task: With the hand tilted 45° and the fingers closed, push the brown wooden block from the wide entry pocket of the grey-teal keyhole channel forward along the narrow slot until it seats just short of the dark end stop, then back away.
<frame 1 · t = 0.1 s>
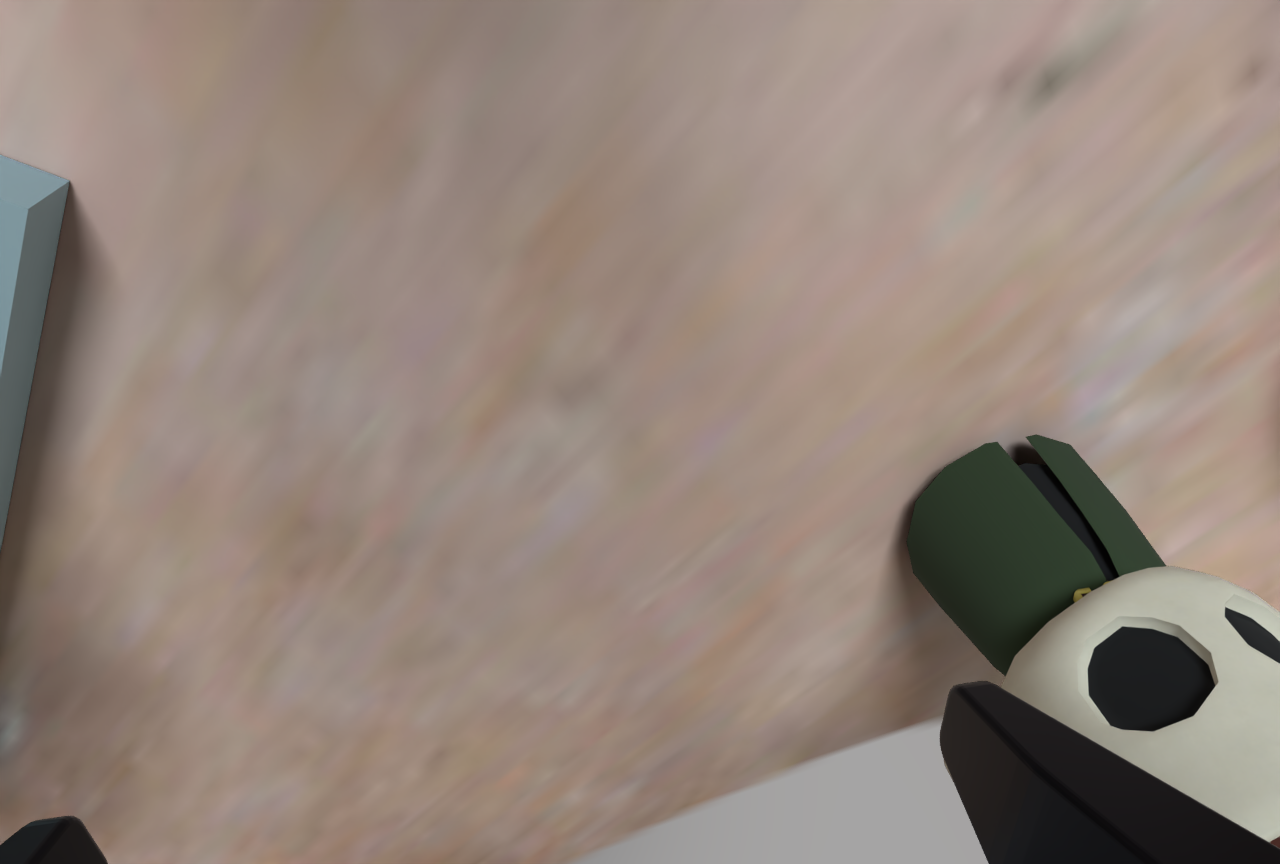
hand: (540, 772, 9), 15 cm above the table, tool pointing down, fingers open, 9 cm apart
character mug: (986, 504, 28), on the table
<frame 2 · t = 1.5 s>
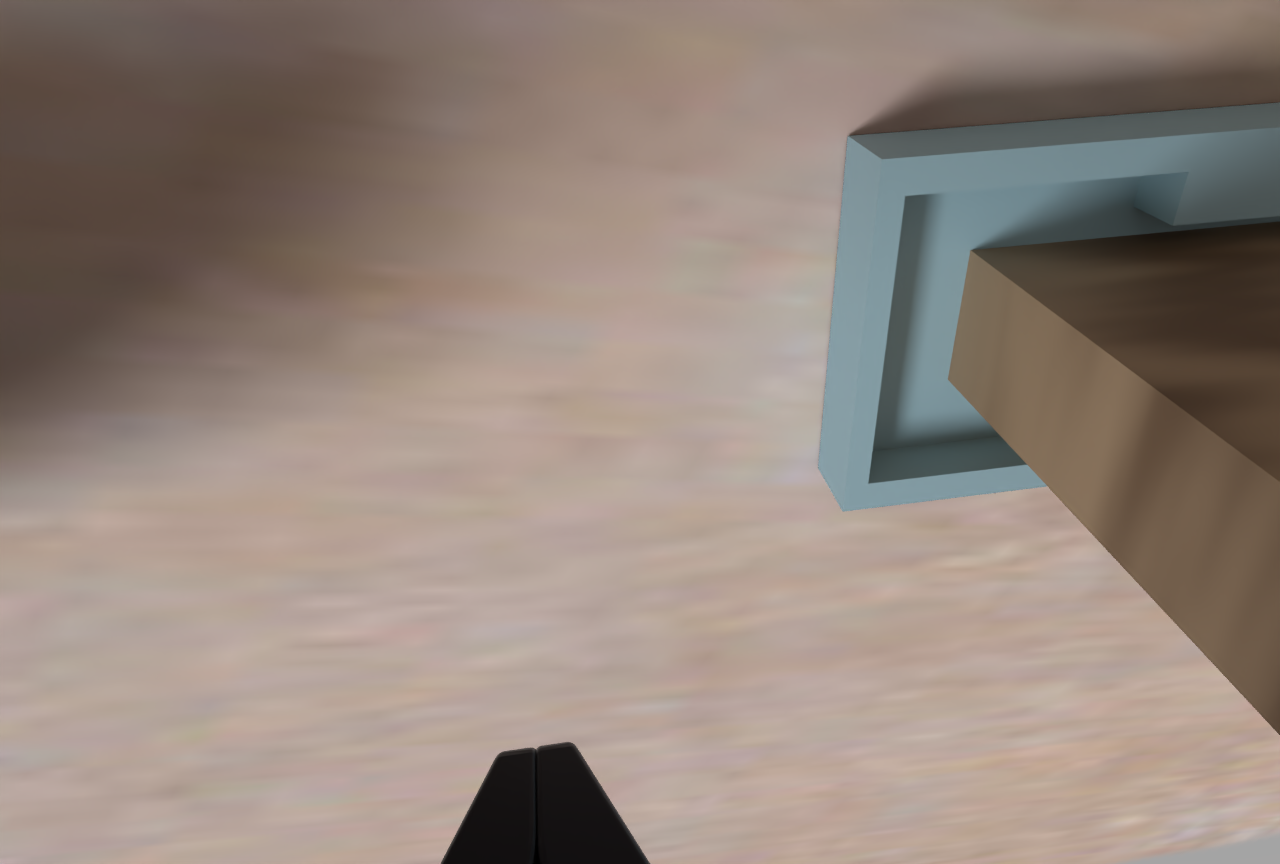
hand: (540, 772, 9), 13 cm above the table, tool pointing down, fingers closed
slot base: (1217, 282, 23), on the table
brown wooden block: (1145, 298, 22), point 1 cm above the table, touching slot base
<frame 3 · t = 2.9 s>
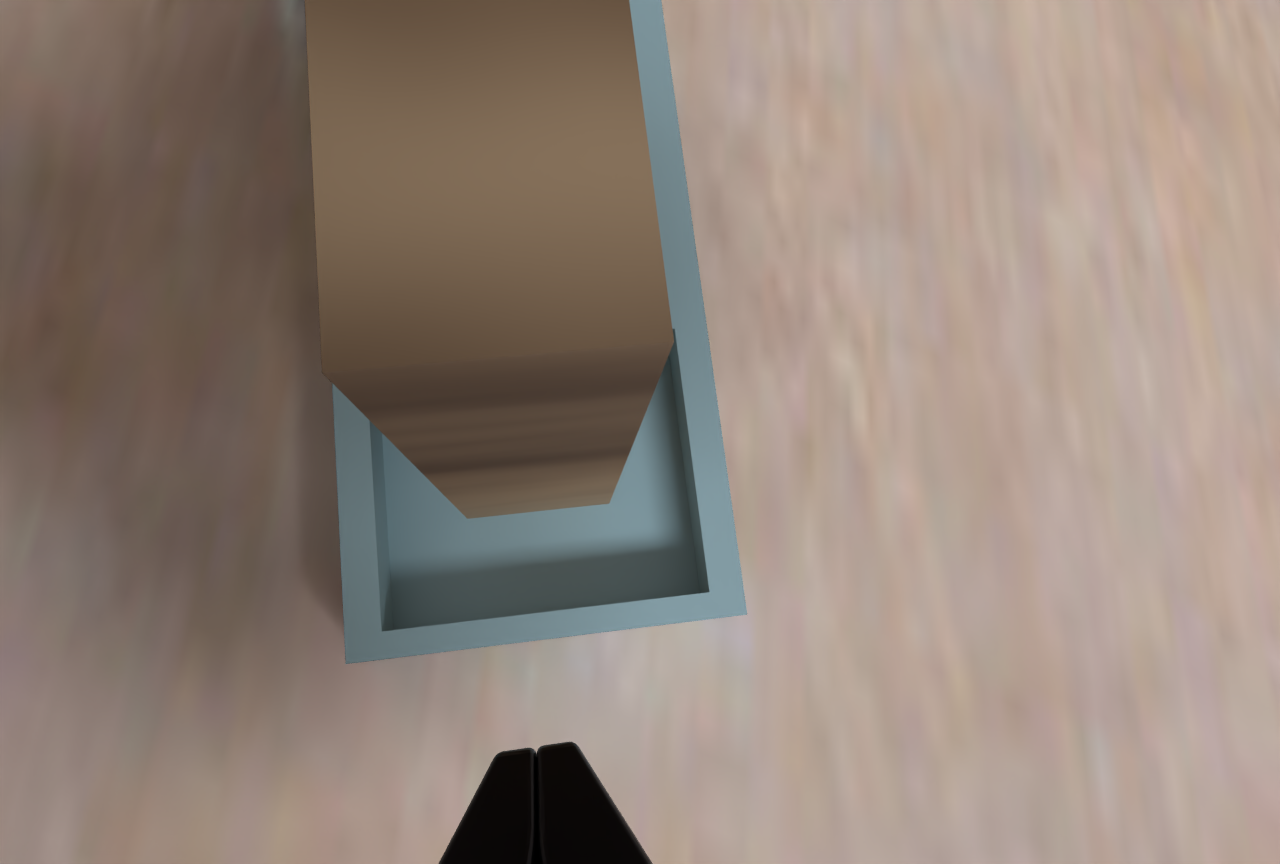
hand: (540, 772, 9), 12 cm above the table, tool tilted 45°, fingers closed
slot base: (514, 241, 23), on the table
brown wooden block: (520, 319, 22), point 1 cm above the table, touching slot base
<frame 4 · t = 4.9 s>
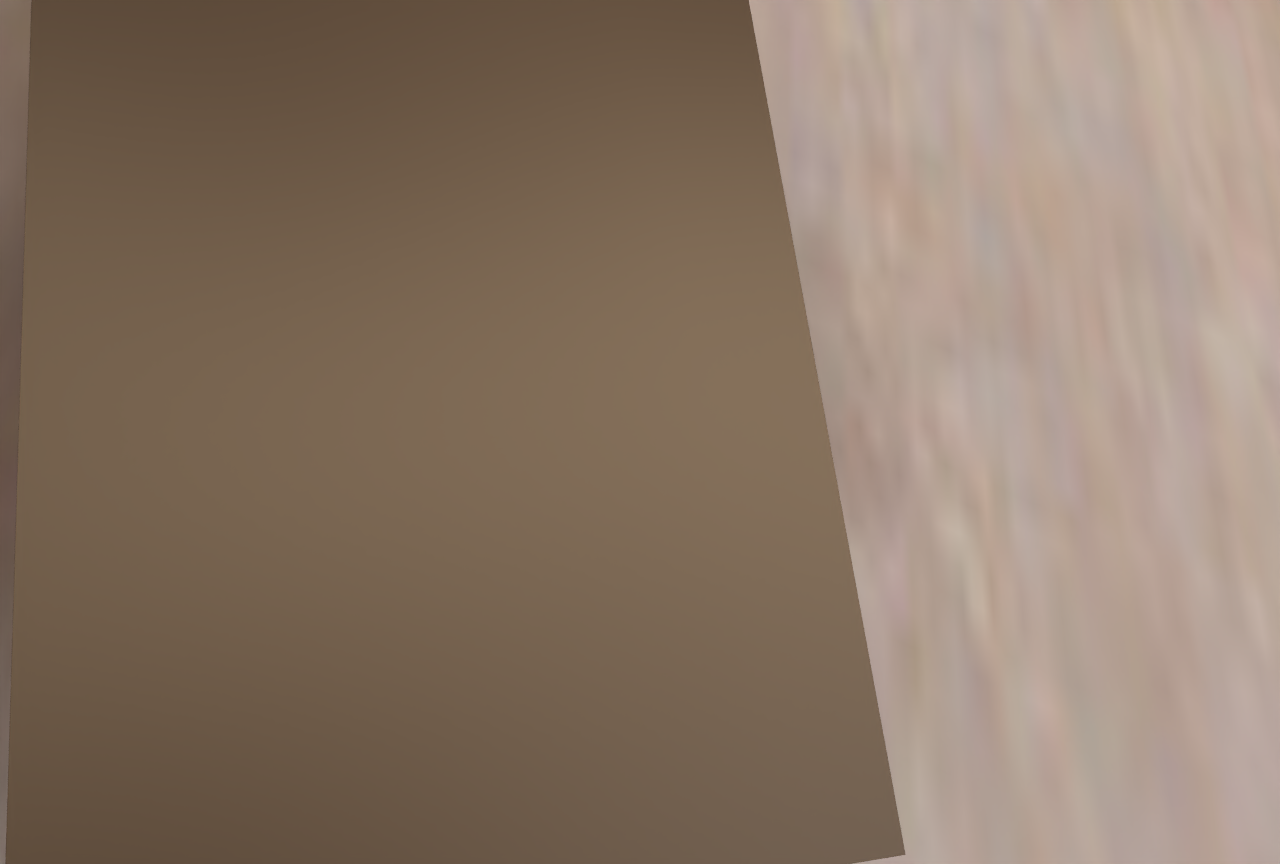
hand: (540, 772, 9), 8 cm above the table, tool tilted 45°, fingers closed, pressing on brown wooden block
brown wooden block: (526, 436, 17), point 1 cm above the table, touching gripper
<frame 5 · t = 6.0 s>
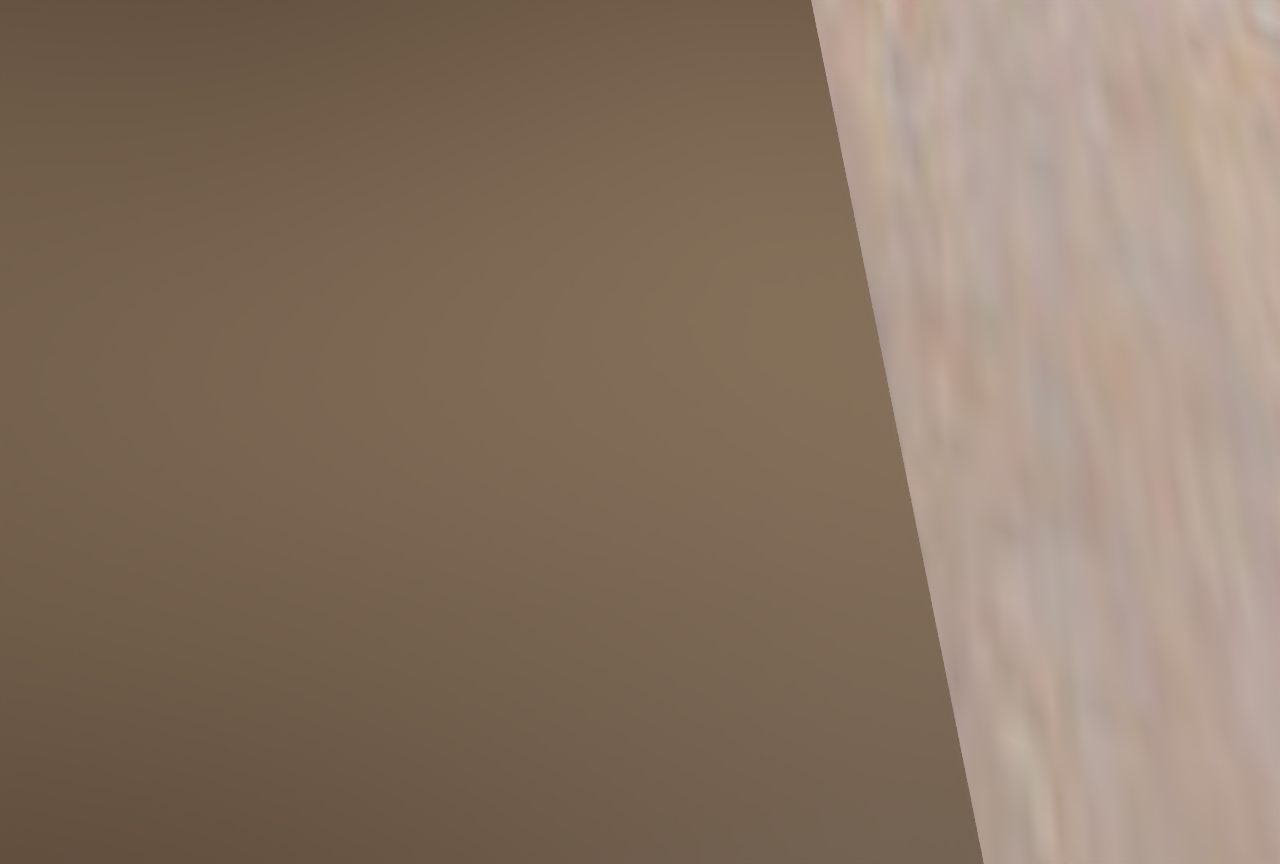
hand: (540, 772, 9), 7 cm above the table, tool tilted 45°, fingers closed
brown wooden block: (523, 424, 16), point 1 cm above the table, touching slot base
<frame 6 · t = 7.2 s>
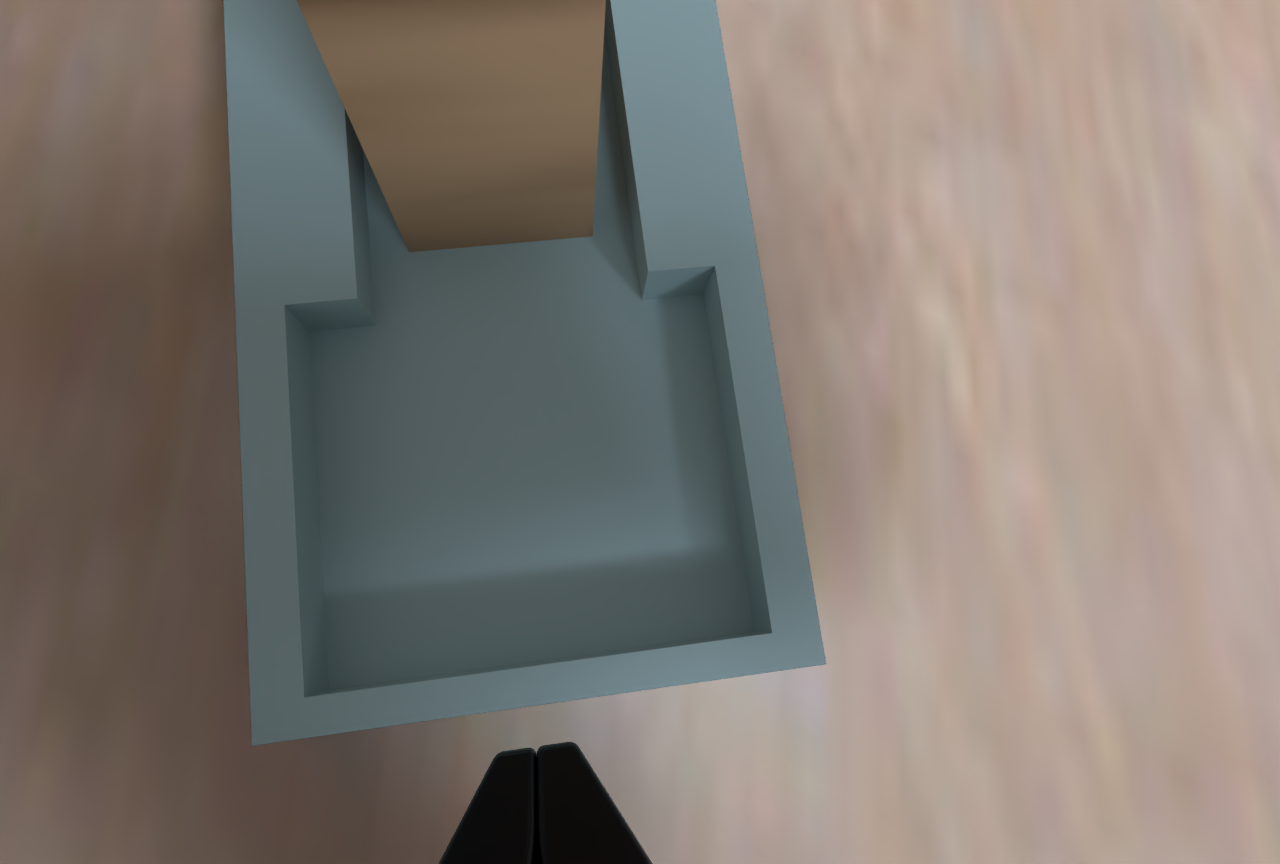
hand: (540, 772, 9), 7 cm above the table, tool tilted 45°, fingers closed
slot base: (495, 160, 18), on the table
brown wooden block: (477, 15, 17), point 1 cm above the table, touching slot base
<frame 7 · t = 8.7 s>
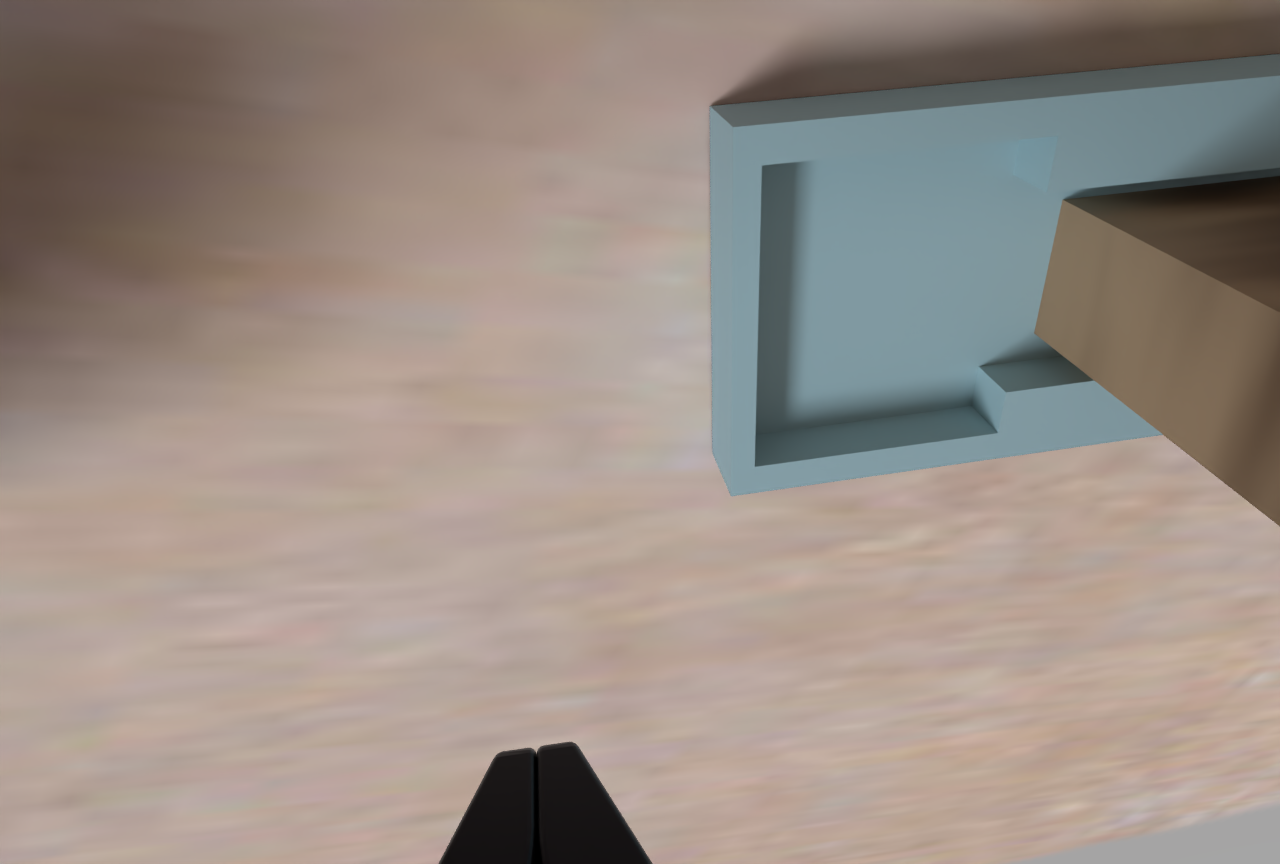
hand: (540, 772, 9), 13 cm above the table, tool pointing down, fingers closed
slot base: (1111, 252, 22), on the table
brown wooden block: (1231, 247, 22), point 1 cm above the table, touching slot base
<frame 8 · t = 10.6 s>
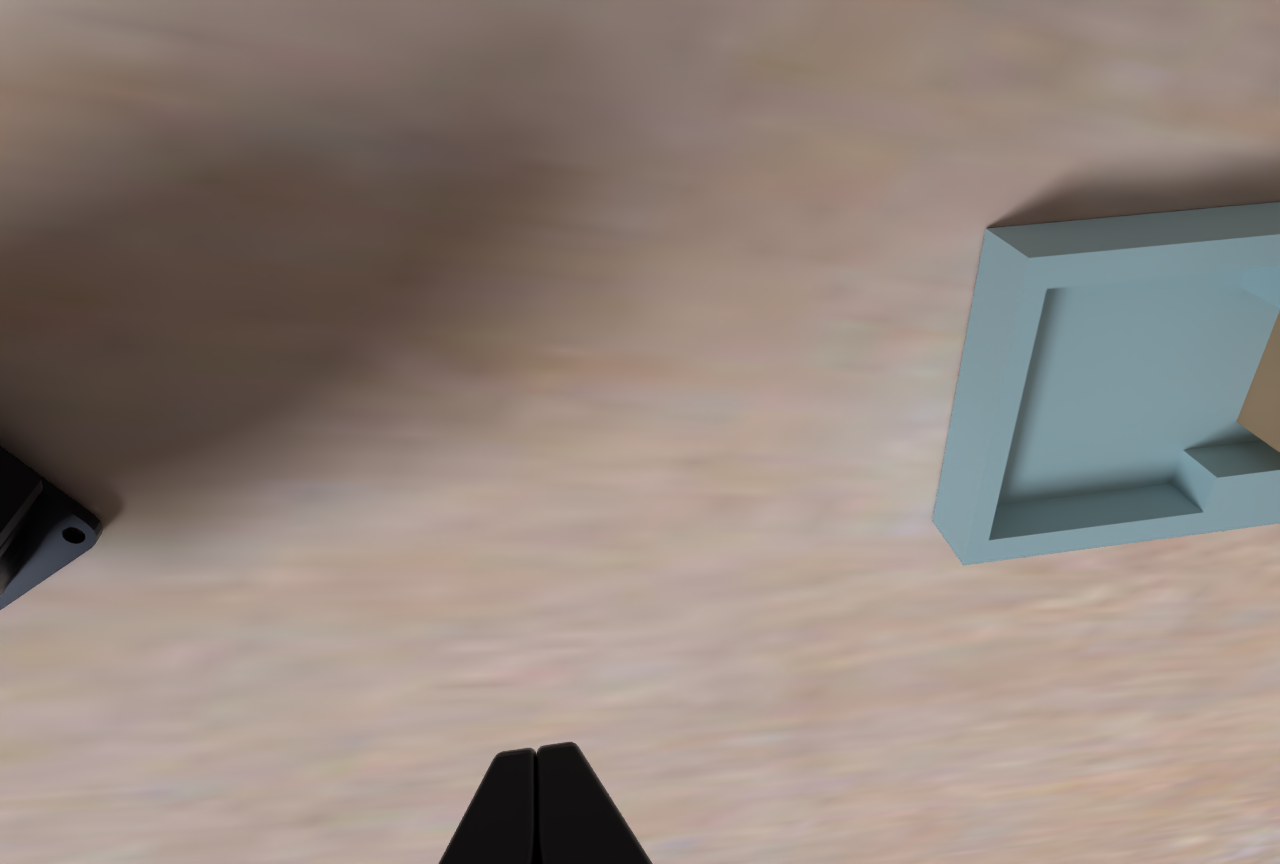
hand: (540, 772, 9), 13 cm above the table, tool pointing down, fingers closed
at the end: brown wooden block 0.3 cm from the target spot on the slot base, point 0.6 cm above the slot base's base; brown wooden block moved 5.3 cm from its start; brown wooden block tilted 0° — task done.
